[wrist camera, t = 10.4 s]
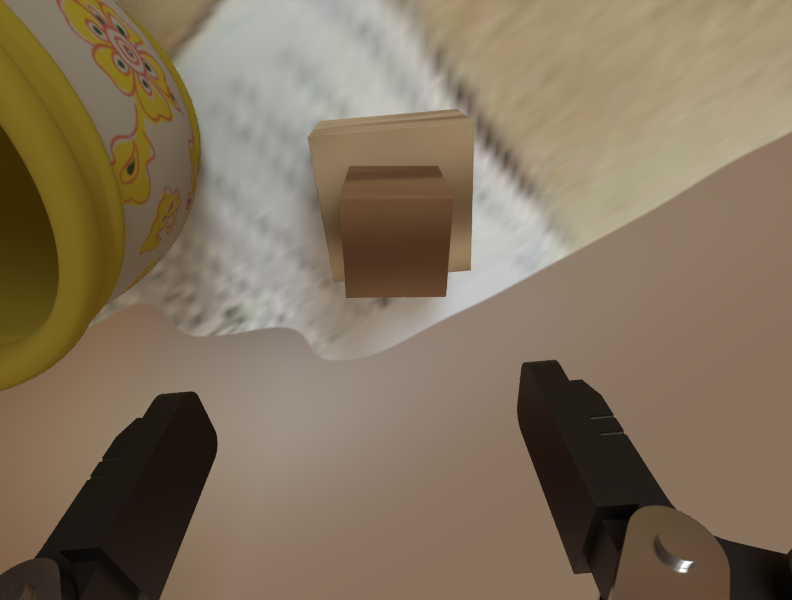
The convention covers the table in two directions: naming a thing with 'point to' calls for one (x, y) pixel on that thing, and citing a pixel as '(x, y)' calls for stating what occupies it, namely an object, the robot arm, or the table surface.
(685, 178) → the table surface
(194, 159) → the flowerpot
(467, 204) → the oak box
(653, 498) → the robot arm
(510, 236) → the table surface
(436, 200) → the walnut block
